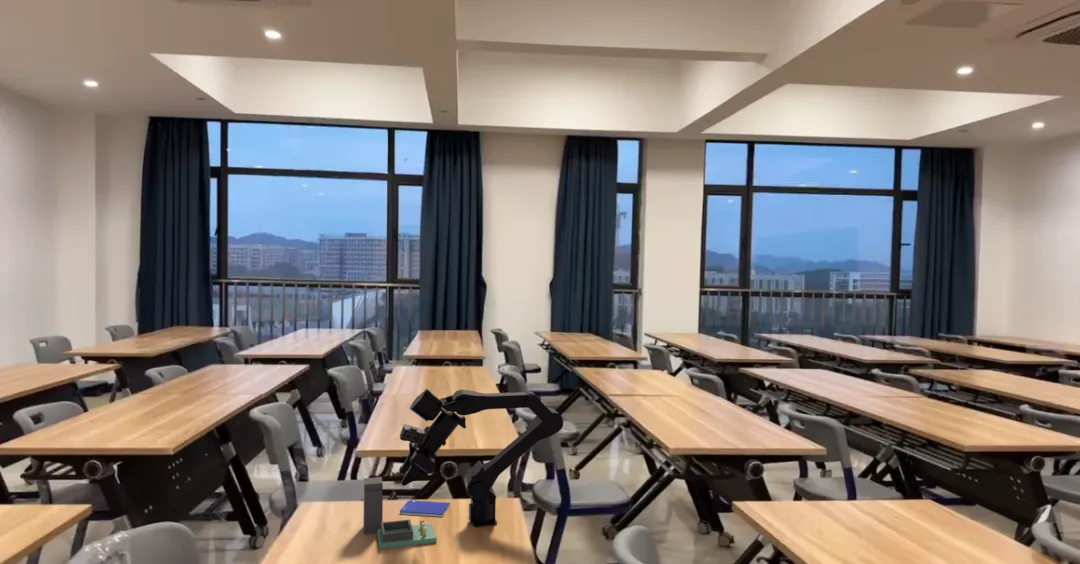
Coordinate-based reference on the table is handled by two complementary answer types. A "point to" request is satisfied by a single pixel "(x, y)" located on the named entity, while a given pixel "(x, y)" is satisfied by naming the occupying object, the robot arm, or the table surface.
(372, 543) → the table surface
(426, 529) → the header board
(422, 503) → the hard drive
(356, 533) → the table surface
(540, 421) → the robot arm
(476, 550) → the table surface
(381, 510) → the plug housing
